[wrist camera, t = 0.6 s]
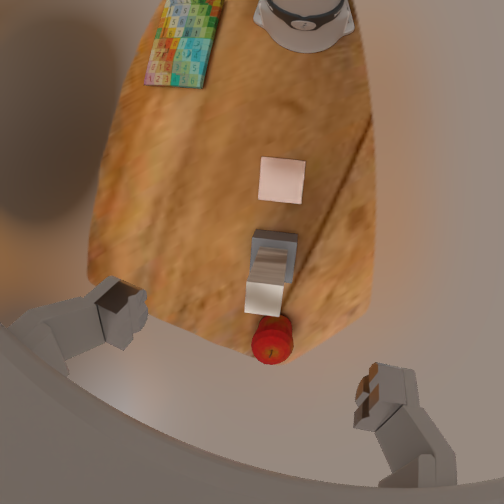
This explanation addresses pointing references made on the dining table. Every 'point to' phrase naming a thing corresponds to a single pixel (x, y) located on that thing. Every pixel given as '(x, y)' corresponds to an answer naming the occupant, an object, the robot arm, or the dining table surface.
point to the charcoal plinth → (276, 241)
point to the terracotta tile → (281, 180)
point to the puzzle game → (183, 43)
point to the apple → (273, 340)
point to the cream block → (266, 282)
